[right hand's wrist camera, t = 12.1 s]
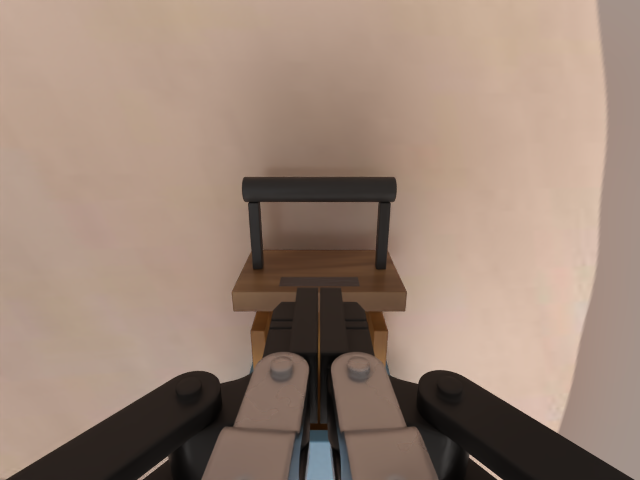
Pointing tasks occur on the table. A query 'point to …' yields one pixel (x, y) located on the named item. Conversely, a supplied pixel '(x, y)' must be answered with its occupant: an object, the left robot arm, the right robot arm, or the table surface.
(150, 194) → the table surface
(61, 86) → the table surface
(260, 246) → the drawer
